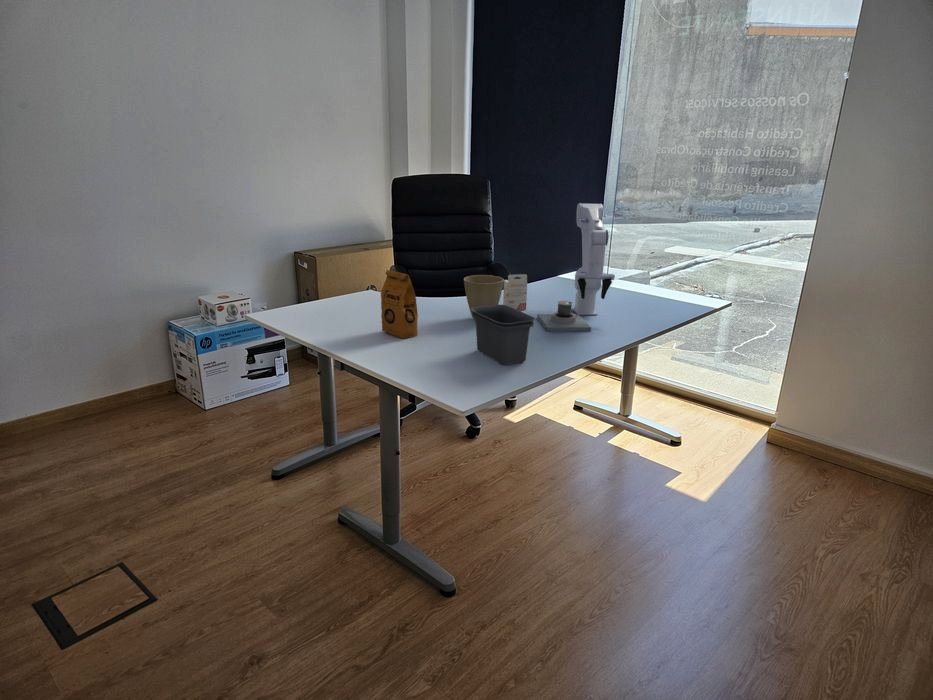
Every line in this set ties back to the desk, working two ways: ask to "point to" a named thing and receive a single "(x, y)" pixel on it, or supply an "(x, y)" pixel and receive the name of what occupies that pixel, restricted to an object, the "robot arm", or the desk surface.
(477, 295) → the plant pot
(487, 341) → the storage bin
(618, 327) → the desk surface
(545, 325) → the mount plate
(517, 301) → the ink cartridge box
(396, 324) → the coffee package
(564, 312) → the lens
